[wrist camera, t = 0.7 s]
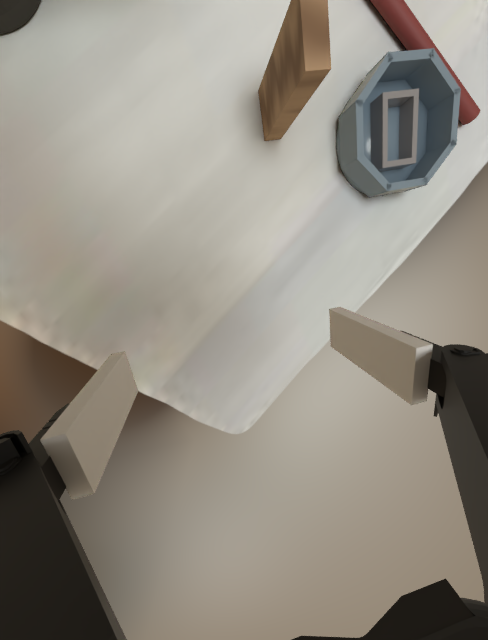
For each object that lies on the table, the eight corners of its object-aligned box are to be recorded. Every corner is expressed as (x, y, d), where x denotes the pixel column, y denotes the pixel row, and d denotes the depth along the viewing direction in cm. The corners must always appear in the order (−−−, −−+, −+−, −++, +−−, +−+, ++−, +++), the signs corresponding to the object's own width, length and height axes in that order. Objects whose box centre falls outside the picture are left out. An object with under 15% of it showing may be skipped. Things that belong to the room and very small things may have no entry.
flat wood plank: (258, 90, 33) (298, -20, 19) (275, 88, 33) (326, -22, 20) (264, 140, 35) (305, 71, 21) (280, 138, 35) (331, 68, 22)
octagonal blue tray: (332, 82, 34) (354, 54, 29) (429, 72, 36) (464, 44, 31) (338, 203, 39) (357, 196, 34) (424, 188, 41) (453, 180, 36)
